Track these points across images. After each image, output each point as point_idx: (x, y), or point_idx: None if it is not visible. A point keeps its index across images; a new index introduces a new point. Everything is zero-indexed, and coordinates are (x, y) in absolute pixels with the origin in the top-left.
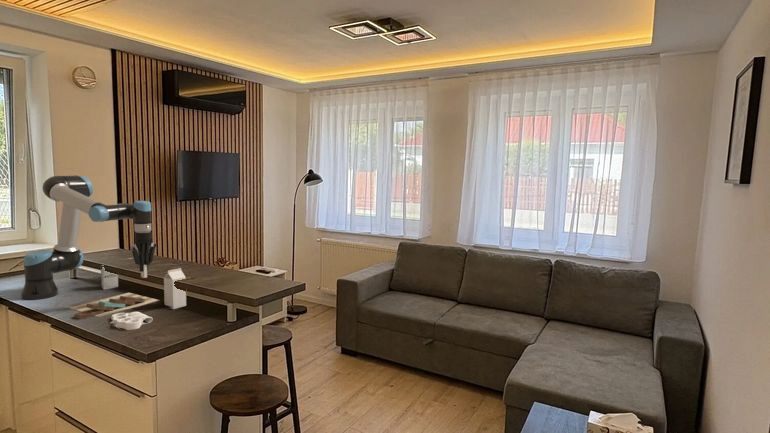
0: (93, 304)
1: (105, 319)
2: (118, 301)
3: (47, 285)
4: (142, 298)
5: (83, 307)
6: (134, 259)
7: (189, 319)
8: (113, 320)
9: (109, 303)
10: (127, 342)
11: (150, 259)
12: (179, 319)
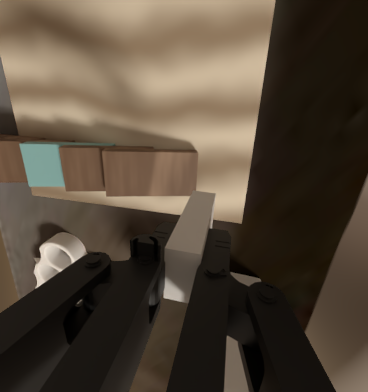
0: (3, 151)
1: (50, 205)
2: (80, 189)
3: None
4: (194, 182)
5: (24, 35)
6: (22, 303)
7: (169, 368)
8: (35, 272)
9: (48, 186)
10: None
11: (248, 375)
12: (157, 352)
